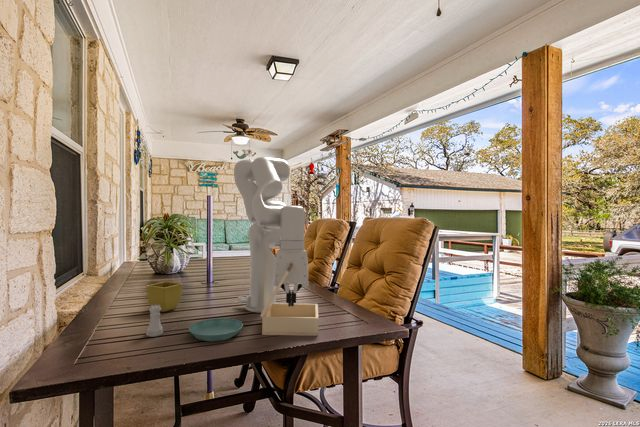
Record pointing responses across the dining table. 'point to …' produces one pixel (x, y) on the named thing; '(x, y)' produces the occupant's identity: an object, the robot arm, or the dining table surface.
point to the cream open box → (290, 319)
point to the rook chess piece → (154, 322)
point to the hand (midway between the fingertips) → (291, 305)
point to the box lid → (276, 290)
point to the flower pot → (164, 295)
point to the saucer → (216, 329)
